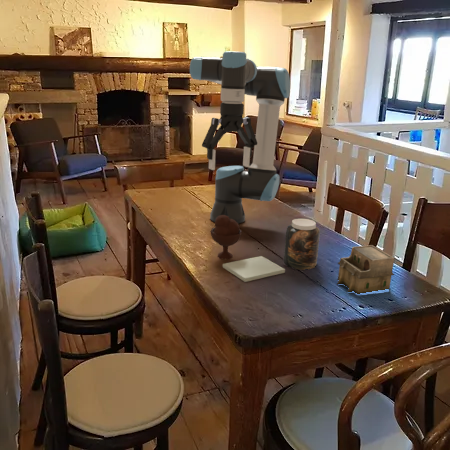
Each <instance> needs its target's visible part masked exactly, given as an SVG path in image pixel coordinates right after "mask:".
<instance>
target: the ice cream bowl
mask: <svg viewBox="0 0 450 450" xmlns="http://www.w3.org/2000/svg"><path fill="white" fill-rule="evenodd" d="M242 232H243V230H242V229H240V225H239V224H238V223H237V222H236V221H235V220H233V219H230V218H229V217H228V216H226V215H220V216H218V217H217V218H216V220H215V222H214V227H212V228H211V229H210V236H211V238H212V240H214V242H215V243H217V244H218V245H220V246H222V251H220V252H218V254H217V258H219V259H221V260H230V259H232V258H233V254H232V253H231V252H230V251H229V247H230V246H233V245H235V244H237V243H238V242H239V240H240V239H241V236H242Z"/></svg>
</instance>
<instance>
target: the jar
mask: <svg viewBox="0 0 450 450" xmlns="http://www.w3.org/2000/svg"><path fill="white" fill-rule="evenodd" d="M320 232H321V231H320V228H319V227H317V223H316V221H315V220H312V219H308V218H294V219H292V221H291V224H289V225H288V226H287V227H286V232H285V240H284V241H285V242H284V249H283V264H284V265H285V266H287V267H289V268H291V269H293V270H294V269H295V270H301V271H302V270H303V271H306V270H305V269H308V270H311V269H314V268H316V267H317V263H318V258H319V257H318V256H319V255H318V254H319V246H320V245H319V244H320V237H321V235H320V234H321V233H320ZM315 266H316V267H315Z"/></svg>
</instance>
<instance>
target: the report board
mask: <svg viewBox="0 0 450 450" xmlns="http://www.w3.org/2000/svg"><path fill="white" fill-rule="evenodd" d="M222 269H225V270H226V271H228V272H230V273H231V274H233V276H235V277H236V278H238V279H240V280H241V281H243V282H244V283H247V282H251V281H256V280H259V279H263V278H268V277H271V276H275V275H276V276H277V275H281V274H284V273H286V269H285V268H284V267H281V266H280V265H278V264H277V263H275V262H272V260H269V259H268V258H266V257H264V256H262V255H260V256H255V257H250V258H245V259H240V260H236V261H231V262H226V263H222Z"/></svg>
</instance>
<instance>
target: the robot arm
mask: <svg viewBox="0 0 450 450" xmlns="http://www.w3.org/2000/svg"><path fill="white" fill-rule="evenodd" d="M189 74H190V75H189V76H190V77H191V79H193V80H197V81H207V82H211V83H213V84H214V83H215V84H218V85H221V86H220V101H221V102H220V104H219V105H220V107H219V109H220V110H219V111H220V112H219V114H220V118H217V117H216V118H215V117H212V118H211V122H210V126H209V128H208V130H207V132H206V135H205V137H204V139H203V141H202V144H201V147H202V148H205V149H206V151H207V152H206V158H207V159H208V169H209V170H211V171H215V170H216V154H217V153H216V151H217V150H216V149H215V148H216V147H217V145H218V143H219V141H221V139H222V138H223V136H224V135H225V134H227V133H232V132H234V133H237V134H238V135H239V137H240V139H241V140H242V141H243V144H244V145H245V146H243V155H242V156H243V159H242V165H228V166H222V167H221V166H220V167H219V168H217V170H216V172H215V173H216V174H215V178H214V179H215V185H214V186H215V187H214V189H215V190H214V192H215V193H214V203H213V205H212V209H211V212H210V215H209V218H210V219H209V220H211V221H212V222H213V223H215V220H216V218H217V217H218V216H220V215H226V216H228V217H229V218H230V219H233V220H235V221H236V222H237V223H238V225H239V224H242V223H244V222H245V220H246V214H245V213H246V212H245V209H244V207H243V199H245V200H246V199H247V200H254V201H260V202H271V201H273V200H274V198H275V197H276V194H277V192H278V189H279V185H280V179H281V178H280V175H279V174H278V173H277V169H276V167H275V166H274V162H275V153H276V143H277V138H278V137H277V136H278V128H279V120H280V119H279V118H280V110H281V109H280V108H281V107H282V105H283V104H285V99H288V98H289V97H290V94H291V79H290V73H289V71H288V70H287V68H284V67H280V66H279V67H278V66H257V64H256V63H255V61H253V60H252V59H249V58H247V53H246V52H245V51H235V50H234V51H232V50H230V51H228V50H227V51H223V53H222V57H207V56H194V57H192V59H191V60H190V64H189ZM245 95H246V96H253V97H256V98H255V101H256V102H257V103H258V113H257V120H256V121H257V123H256V131H255V132H254V130H253V127H252V118H251V117H248V116H244V117H243V115H244V110H245V107H244V106H245V105H244V103H243V102H244V101H245ZM219 125H220V126H219ZM242 125H243V126H244V128H243V126H242ZM253 148H254V149H253ZM252 152H253V153H252ZM252 154H253V156H252ZM251 157H252V163H250V160H251V159H250V158H251ZM244 167H245V168H247V169H248V170H245V168H244Z"/></svg>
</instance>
